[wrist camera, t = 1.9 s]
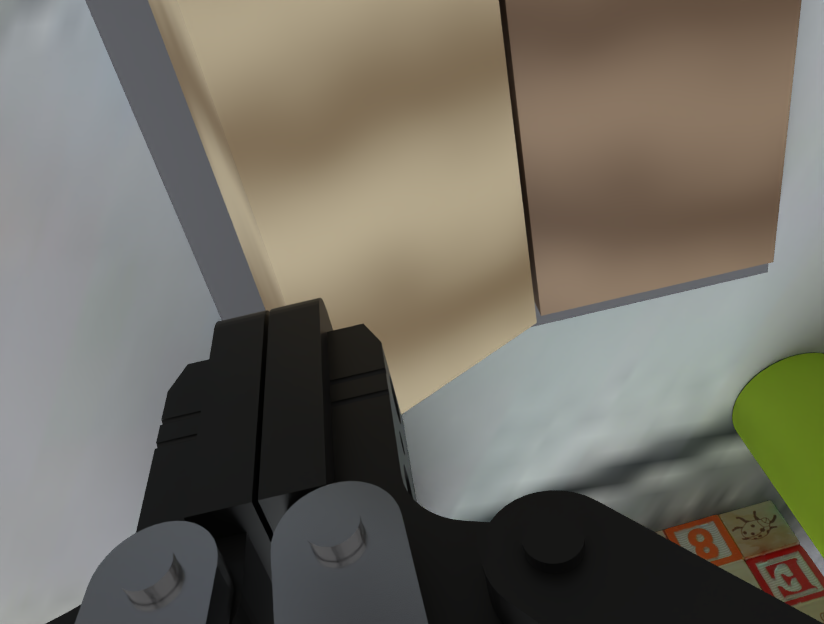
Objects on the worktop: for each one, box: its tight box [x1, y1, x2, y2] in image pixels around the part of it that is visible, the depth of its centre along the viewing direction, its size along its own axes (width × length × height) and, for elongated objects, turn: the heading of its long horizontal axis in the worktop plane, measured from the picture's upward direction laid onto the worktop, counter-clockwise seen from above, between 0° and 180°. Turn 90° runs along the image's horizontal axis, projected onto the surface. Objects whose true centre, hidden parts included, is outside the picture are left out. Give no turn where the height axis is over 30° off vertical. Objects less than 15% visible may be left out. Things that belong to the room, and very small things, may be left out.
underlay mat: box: [85, 0, 768, 327], centre depth 24 cm, size 26×22×1 cm
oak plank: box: [148, 0, 537, 415], centre depth 21 cm, size 22×9×2 cm, turn 11°
